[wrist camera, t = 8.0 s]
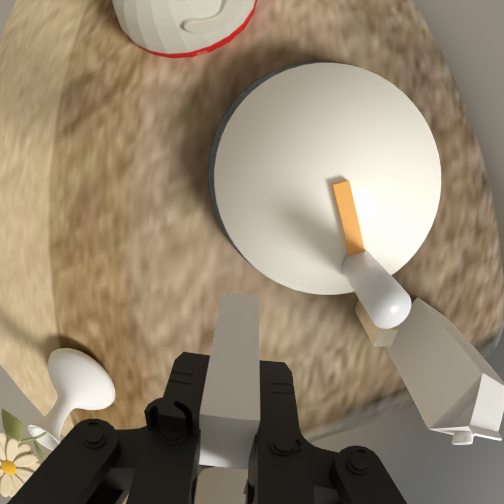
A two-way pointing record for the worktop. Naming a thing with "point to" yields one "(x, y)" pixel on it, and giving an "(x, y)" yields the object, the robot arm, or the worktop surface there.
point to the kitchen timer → (183, 24)
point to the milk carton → (447, 376)
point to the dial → (330, 184)
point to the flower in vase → (52, 414)
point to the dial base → (374, 333)
